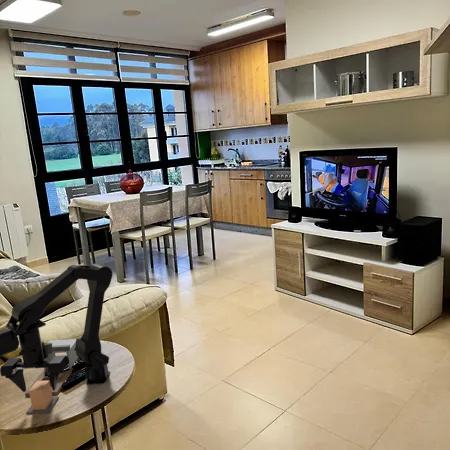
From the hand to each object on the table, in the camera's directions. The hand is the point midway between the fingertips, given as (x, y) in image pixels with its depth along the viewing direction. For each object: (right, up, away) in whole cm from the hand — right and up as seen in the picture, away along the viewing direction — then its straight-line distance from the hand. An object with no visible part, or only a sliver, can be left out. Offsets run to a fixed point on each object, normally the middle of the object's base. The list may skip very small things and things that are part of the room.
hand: (39, 390), depth 128 cm
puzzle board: (-2, -2, +17) cm, 18 cm away
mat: (0, -5, +1) cm, 5 cm away
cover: (-2, +1, +23) cm, 23 cm away
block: (0, -5, +1) cm, 5 cm away
